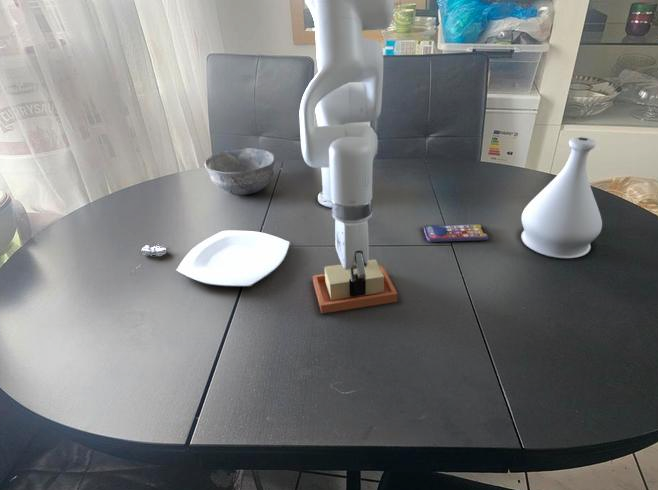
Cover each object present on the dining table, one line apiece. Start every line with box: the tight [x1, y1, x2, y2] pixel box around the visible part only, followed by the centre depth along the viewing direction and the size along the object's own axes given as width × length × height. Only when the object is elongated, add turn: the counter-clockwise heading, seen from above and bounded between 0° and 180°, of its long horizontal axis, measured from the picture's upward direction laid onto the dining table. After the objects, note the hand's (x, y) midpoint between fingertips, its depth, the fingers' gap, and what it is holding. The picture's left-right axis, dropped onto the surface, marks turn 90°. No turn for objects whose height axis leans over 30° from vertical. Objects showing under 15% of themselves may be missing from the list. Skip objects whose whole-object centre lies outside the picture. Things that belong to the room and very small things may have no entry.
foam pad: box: [324, 259, 384, 300], centre depth 92 cm, size 6×11×4 cm, turn 102°
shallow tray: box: [312, 265, 398, 314], centre depth 93 cm, size 11×16×2 cm
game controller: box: [130, 243, 168, 274], centre depth 105 cm, size 6×12×3 cm, turn 2°
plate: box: [176, 229, 291, 288], centre depth 104 cm, size 23×23×2 cm
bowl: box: [203, 147, 276, 195], centre depth 135 cm, size 21×21×10 cm
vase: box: [520, 136, 603, 259], centre depth 101 cm, size 17×17×25 cm
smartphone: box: [423, 223, 489, 243], centre depth 112 cm, size 1×7×15 cm
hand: (353, 283), depth 93 cm, fingers closed on foam pad, 6 cm apart
